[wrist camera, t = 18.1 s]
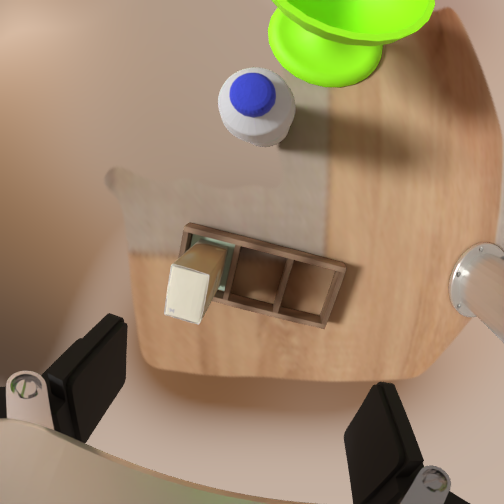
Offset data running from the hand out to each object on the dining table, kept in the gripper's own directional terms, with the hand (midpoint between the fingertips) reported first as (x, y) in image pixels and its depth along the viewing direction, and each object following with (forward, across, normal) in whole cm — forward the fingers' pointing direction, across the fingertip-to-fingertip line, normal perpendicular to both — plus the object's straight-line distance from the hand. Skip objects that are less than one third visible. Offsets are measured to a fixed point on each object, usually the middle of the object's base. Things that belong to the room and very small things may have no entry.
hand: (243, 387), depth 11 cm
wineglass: (+34, -1, -27) cm, 43 cm away
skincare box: (+33, +7, +8) cm, 35 cm away
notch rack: (+33, 0, +8) cm, 34 cm away
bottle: (+34, +4, -12) cm, 36 cm away
